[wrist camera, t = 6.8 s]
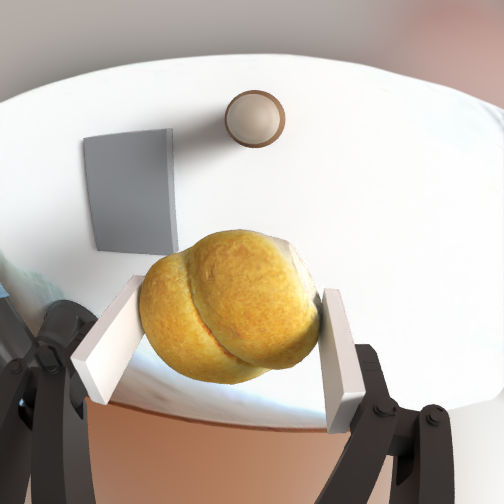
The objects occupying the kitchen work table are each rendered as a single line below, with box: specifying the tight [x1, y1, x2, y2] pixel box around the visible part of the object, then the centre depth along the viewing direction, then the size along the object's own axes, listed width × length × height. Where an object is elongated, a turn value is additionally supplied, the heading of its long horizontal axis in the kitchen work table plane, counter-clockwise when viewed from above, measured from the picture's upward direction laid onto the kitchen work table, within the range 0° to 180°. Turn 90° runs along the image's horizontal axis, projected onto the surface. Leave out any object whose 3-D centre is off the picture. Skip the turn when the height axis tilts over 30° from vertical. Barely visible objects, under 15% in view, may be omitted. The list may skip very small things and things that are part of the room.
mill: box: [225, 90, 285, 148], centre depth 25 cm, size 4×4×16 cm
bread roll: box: [139, 229, 323, 385], centre depth 14 cm, size 8×9×4 cm
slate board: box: [84, 129, 178, 256], centre depth 36 cm, size 12×16×2 cm
